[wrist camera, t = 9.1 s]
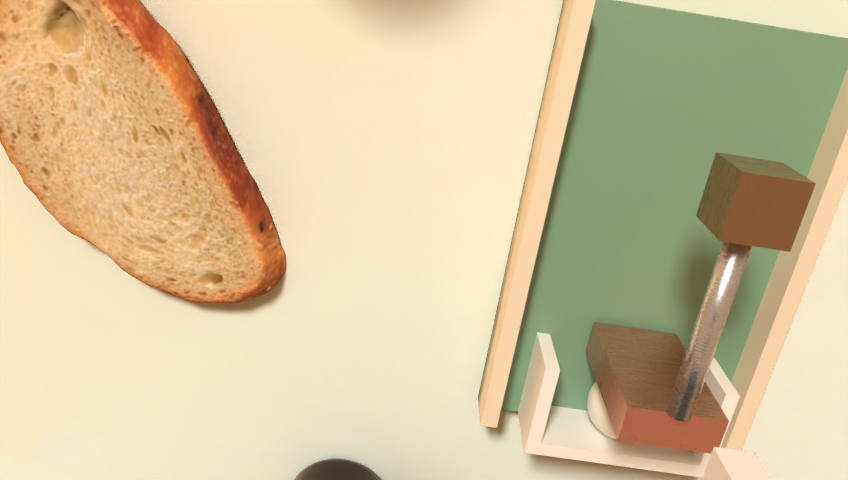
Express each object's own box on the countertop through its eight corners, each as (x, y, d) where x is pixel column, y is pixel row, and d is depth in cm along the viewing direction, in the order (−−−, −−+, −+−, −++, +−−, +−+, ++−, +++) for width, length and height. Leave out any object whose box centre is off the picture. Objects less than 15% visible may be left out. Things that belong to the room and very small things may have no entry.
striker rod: (666, 362, 43) (727, 475, 34) (585, 350, 43) (624, 460, 34) (742, 128, 38) (840, 187, 29) (650, 114, 38) (718, 168, 29)
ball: (660, 362, 43) (638, 400, 46) (595, 353, 43) (576, 391, 46) (672, 421, 40) (647, 457, 43) (602, 411, 40) (581, 447, 43)
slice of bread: (278, 311, 45) (265, 341, 41) (-15, 241, 44) (-54, 267, 40) (337, 20, 38) (327, 28, 35) (-6, -72, 37) (-52, -74, 33)
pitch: (719, 431, 47) (750, 484, 42) (478, 396, 46) (482, 446, 42) (865, 41, 38) (925, 54, 33) (565, -8, 37) (582, -2, 32)
